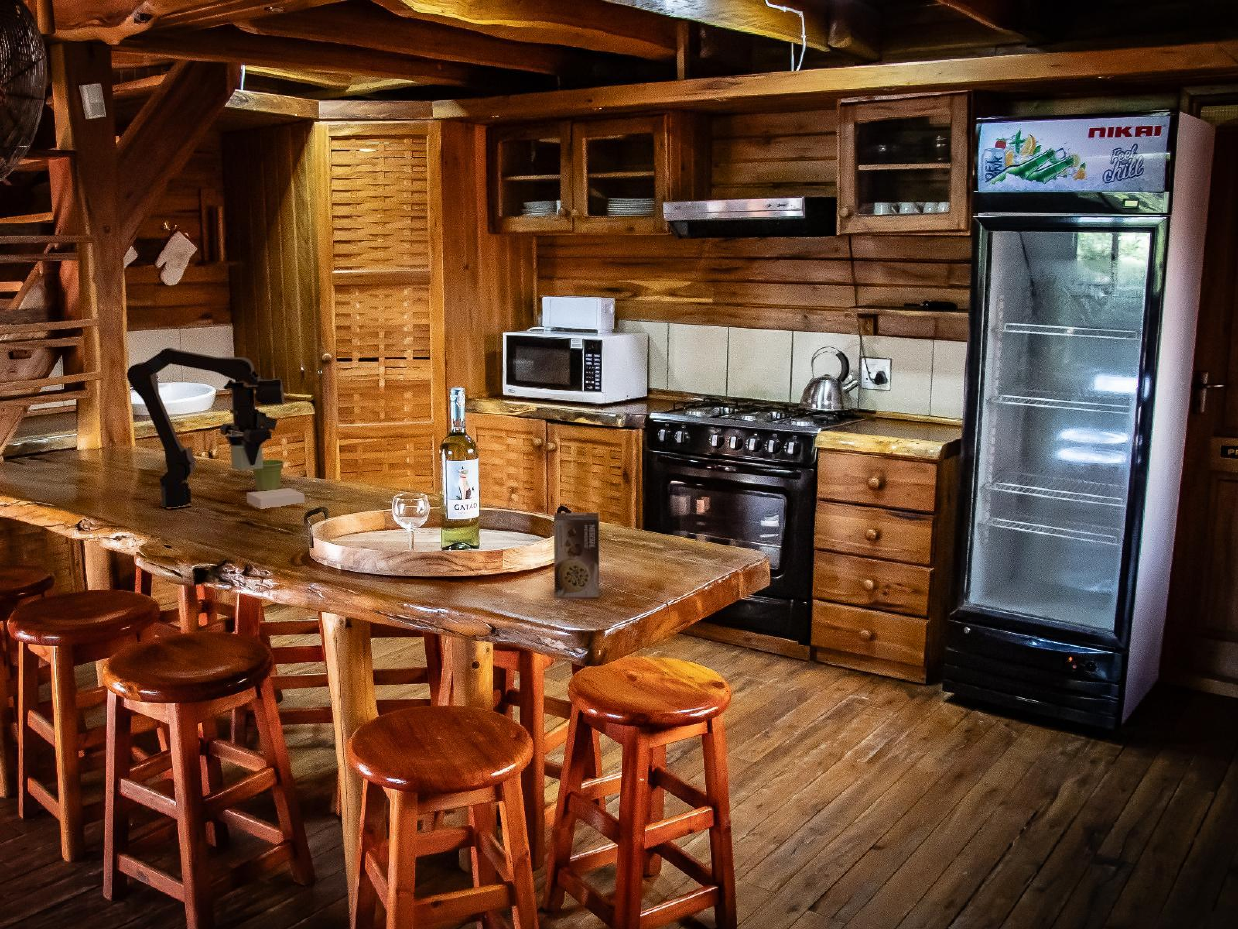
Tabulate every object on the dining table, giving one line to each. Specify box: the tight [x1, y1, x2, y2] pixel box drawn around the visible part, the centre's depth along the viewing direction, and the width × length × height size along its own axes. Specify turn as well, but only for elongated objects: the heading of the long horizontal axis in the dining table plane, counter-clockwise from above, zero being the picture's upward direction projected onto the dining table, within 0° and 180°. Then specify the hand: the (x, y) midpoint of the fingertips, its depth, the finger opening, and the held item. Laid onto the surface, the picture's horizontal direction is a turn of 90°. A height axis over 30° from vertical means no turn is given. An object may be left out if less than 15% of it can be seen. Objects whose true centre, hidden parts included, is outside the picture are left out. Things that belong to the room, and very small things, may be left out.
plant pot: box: [252, 459, 285, 490], centre depth 337 cm, size 9×9×9 cm
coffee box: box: [553, 512, 600, 599], centre depth 239 cm, size 9×6×16 cm
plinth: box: [246, 487, 306, 509], centre depth 319 cm, size 12×10×4 cm
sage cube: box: [230, 445, 264, 472], centre depth 317 cm, size 6×6×6 cm
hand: (247, 463), depth 318 cm, fingers closed on sage cube, 6 cm apart
